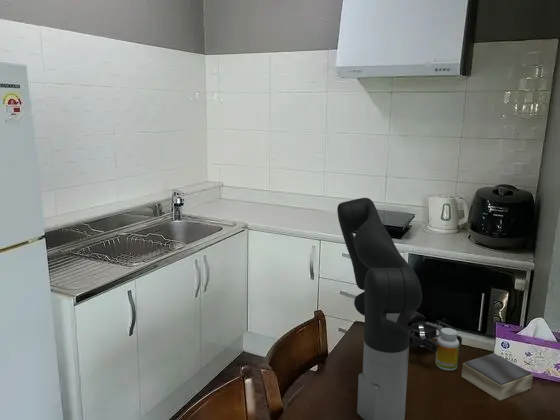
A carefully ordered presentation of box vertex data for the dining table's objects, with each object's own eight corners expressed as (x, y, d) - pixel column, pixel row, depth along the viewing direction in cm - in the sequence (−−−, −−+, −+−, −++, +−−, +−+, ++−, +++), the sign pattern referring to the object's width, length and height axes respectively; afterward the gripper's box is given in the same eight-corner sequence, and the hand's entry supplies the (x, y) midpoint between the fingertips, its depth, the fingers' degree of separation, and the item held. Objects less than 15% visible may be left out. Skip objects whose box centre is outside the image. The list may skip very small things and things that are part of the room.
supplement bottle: (458, 372, 115) (462, 336, 113) (436, 370, 116) (439, 334, 114) (455, 361, 120) (458, 327, 119) (434, 359, 121) (436, 325, 120)
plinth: (499, 400, 104) (501, 384, 103) (461, 376, 113) (462, 361, 113) (531, 388, 108) (533, 373, 108) (492, 366, 118) (493, 352, 117)
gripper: (386, 312, 127) (429, 337, 113) (425, 304, 133) (469, 326, 119) (385, 337, 129) (427, 364, 114) (423, 327, 135) (467, 352, 121)
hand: (448, 345), depth 117 cm, fingers open, 8 cm apart
